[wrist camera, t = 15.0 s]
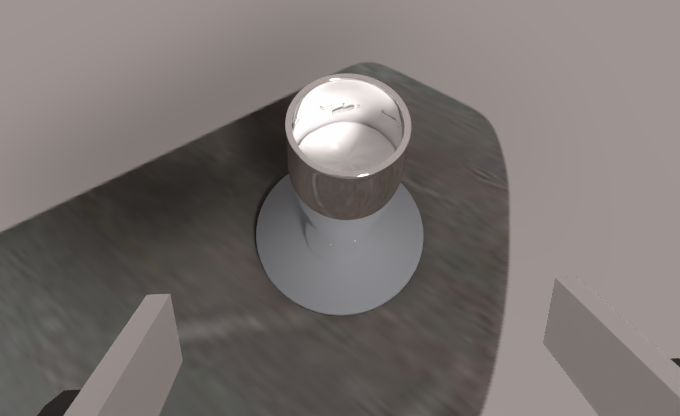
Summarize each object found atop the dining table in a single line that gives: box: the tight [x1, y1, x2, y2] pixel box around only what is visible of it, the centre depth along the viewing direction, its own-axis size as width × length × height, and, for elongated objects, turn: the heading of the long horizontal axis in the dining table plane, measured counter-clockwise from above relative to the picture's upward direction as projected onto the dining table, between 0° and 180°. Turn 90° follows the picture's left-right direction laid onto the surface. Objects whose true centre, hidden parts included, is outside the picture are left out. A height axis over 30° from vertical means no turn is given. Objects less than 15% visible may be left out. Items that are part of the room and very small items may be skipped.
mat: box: [256, 174, 423, 316], centre depth 36 cm, size 14×14×1 cm
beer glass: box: [285, 74, 411, 264], centre depth 29 cm, size 7×7×15 cm
